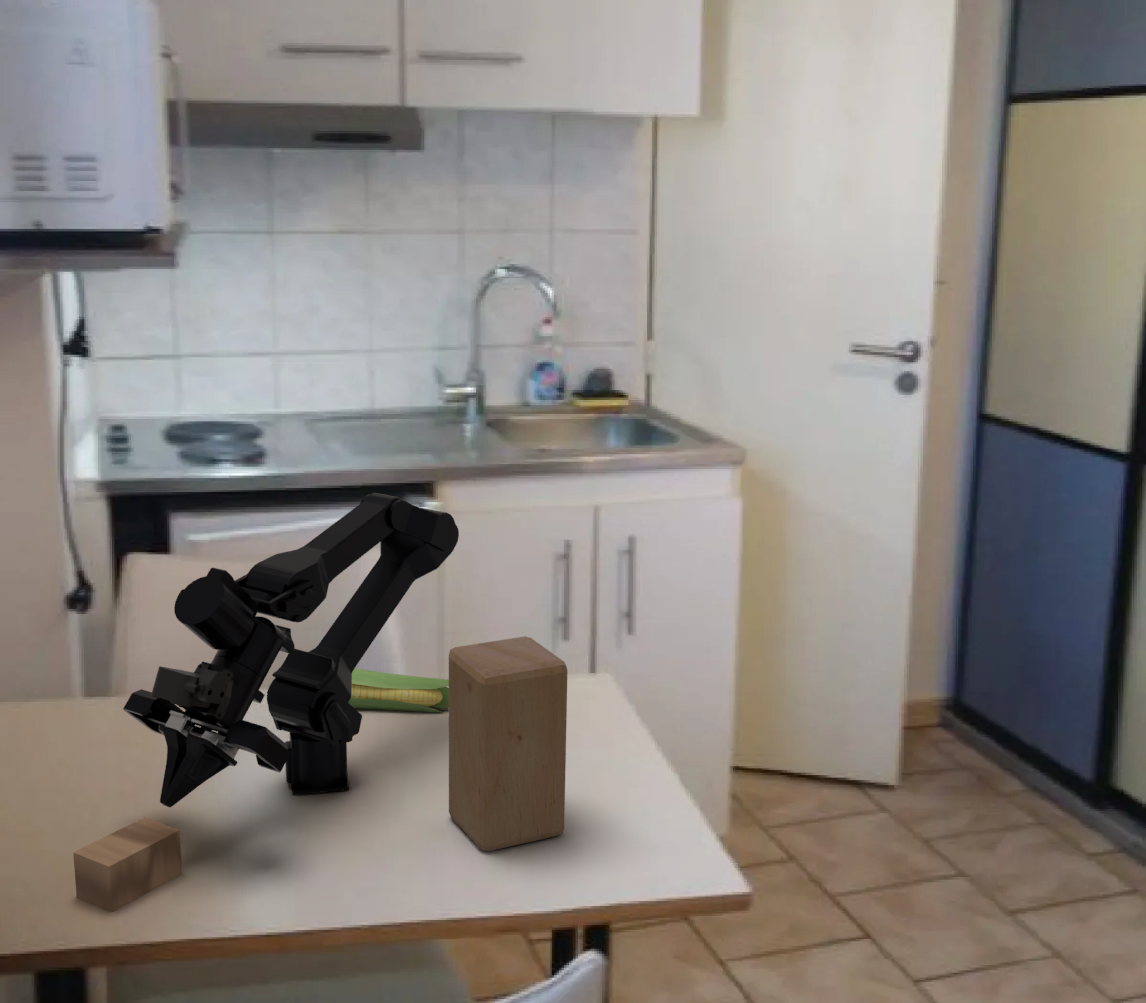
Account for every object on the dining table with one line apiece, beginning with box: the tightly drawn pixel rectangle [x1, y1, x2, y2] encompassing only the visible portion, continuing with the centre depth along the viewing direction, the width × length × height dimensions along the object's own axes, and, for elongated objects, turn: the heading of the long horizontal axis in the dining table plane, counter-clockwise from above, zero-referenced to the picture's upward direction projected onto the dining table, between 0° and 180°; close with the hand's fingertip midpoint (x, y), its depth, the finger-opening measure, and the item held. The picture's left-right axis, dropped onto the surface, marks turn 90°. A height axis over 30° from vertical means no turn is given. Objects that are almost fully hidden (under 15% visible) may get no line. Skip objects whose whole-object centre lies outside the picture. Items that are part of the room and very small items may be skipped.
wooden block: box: [448, 636, 568, 852], centre depth 158 cm, size 10×10×20 cm
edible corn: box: [348, 668, 449, 714], centre depth 191 cm, size 5×20×5 cm
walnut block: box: [72, 816, 183, 913], centre depth 146 cm, size 5×5×9 cm
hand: (164, 805), depth 149 cm, fingers closed
